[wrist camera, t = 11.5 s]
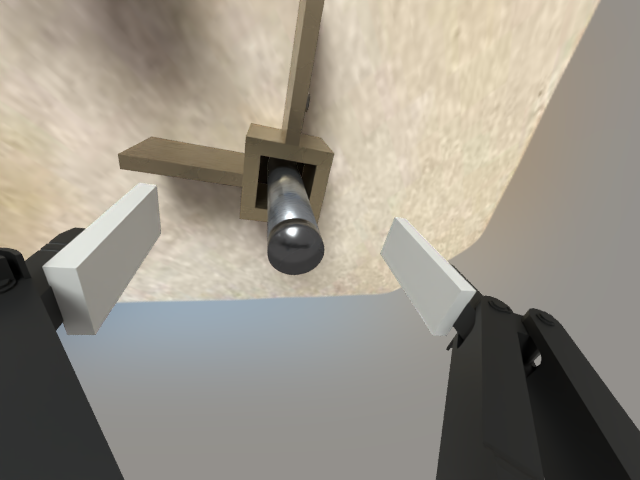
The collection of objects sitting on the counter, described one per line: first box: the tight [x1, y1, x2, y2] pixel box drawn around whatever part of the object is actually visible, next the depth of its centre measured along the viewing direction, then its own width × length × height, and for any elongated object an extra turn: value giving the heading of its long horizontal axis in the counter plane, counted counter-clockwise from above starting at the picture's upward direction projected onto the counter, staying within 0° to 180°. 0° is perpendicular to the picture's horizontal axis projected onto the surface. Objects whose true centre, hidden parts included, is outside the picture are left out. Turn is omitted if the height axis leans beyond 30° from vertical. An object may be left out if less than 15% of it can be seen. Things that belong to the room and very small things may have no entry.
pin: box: [268, 157, 324, 275], centre depth 19 cm, size 3×3×15 cm
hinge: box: [118, 0, 334, 223], centre depth 20 cm, size 14×16×6 cm
